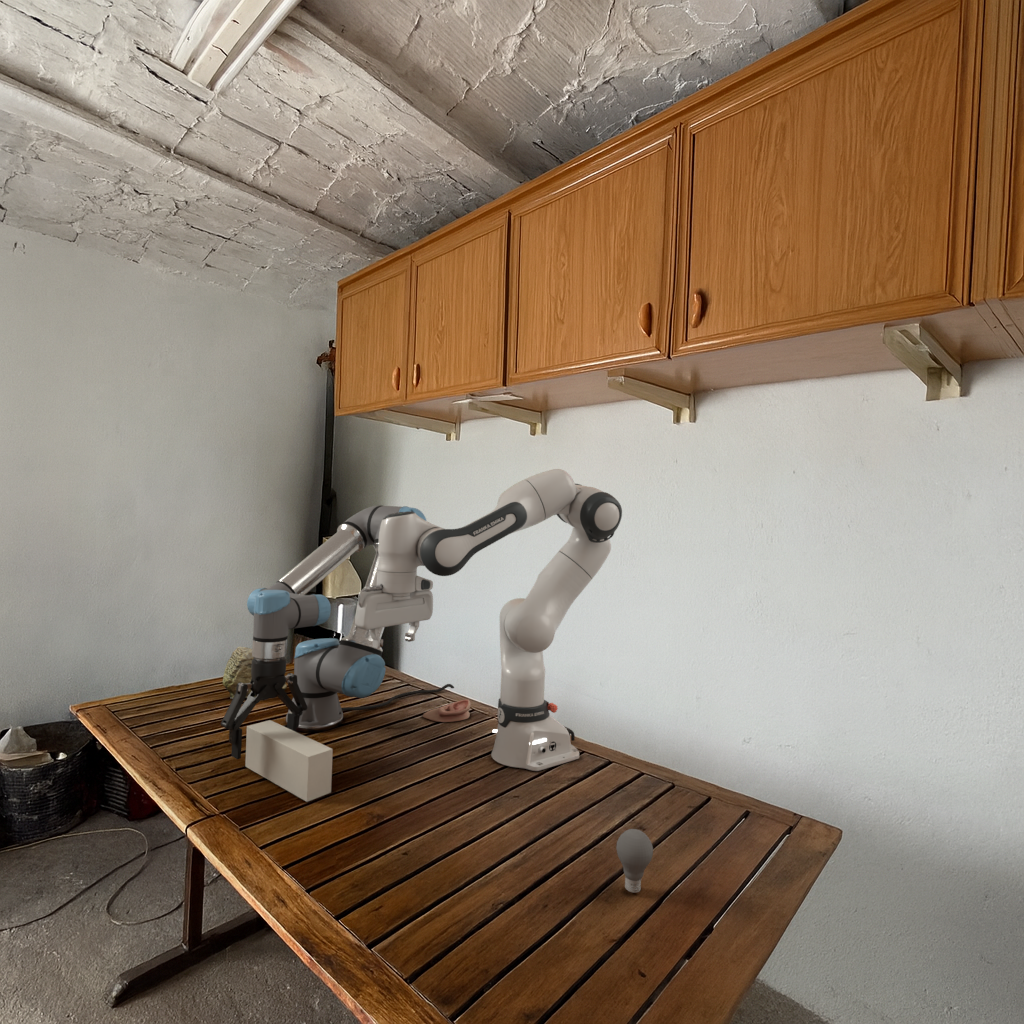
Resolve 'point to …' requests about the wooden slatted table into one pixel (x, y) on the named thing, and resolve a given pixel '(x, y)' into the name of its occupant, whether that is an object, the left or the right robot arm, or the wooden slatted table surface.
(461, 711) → the anatomical model
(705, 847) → the wooden slatted table surface
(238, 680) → the fossil
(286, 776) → the bar
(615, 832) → the wooden slatted table surface
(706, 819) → the wooden slatted table surface
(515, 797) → the wooden slatted table surface
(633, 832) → the light bulb
